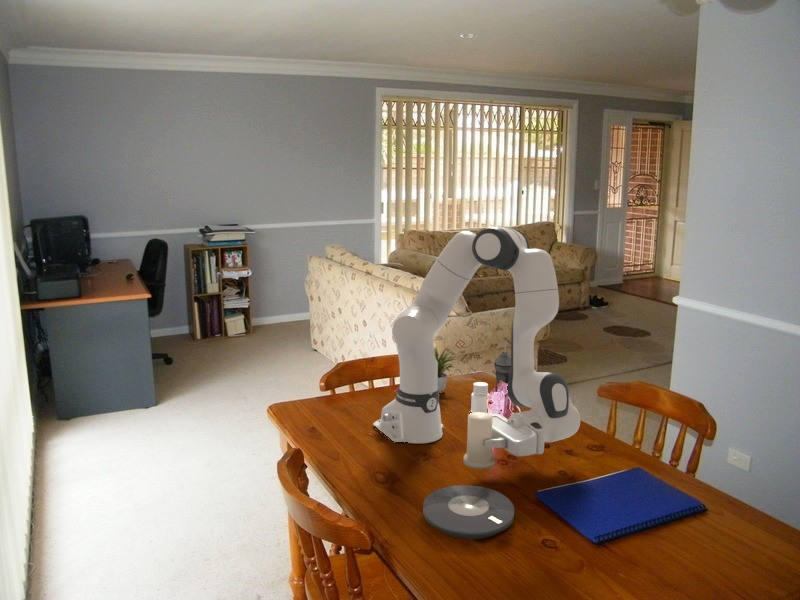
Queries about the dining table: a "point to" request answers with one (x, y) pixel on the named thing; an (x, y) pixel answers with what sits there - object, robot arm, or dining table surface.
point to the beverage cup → (503, 366)
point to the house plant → (442, 368)
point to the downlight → (479, 397)
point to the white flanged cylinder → (479, 441)
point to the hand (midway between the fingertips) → (476, 438)
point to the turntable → (468, 510)
